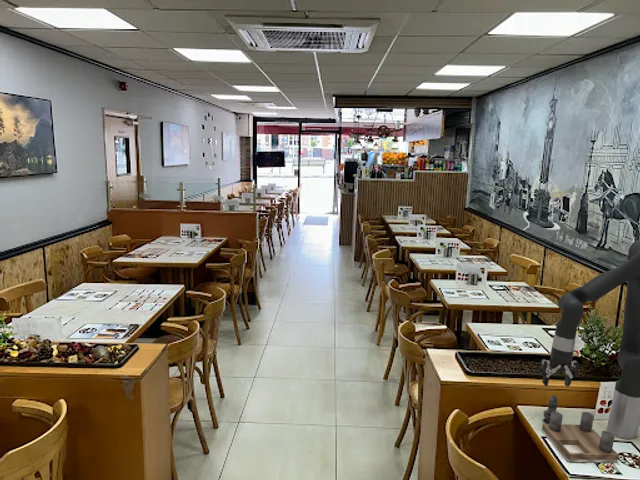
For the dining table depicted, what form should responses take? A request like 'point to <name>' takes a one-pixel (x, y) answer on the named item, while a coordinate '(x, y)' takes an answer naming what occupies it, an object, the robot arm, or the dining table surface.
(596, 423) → the dining table surface
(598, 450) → the wooden peg stand
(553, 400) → the grey chess piece
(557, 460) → the dining table surface
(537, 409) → the dining table surface
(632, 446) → the dining table surface
